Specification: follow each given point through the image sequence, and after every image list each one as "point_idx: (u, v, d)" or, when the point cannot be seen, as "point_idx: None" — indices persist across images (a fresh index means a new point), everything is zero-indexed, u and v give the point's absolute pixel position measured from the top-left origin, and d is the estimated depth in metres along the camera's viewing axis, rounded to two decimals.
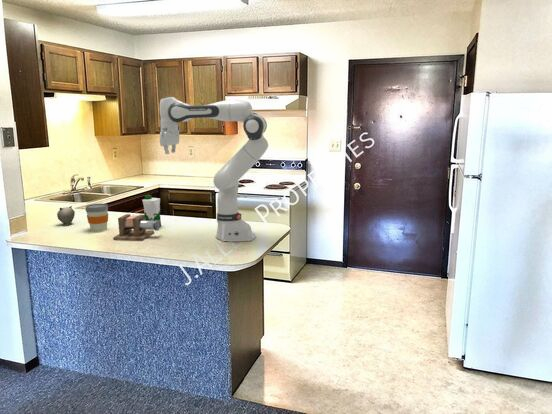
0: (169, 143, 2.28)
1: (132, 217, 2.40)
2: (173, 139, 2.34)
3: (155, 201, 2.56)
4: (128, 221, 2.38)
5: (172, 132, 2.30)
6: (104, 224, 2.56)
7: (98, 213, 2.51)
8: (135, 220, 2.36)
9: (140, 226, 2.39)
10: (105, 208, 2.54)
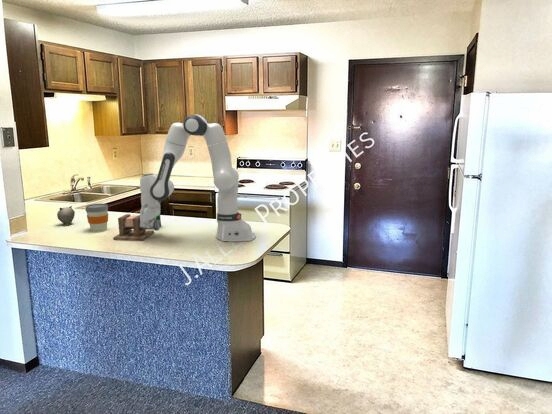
0: (149, 219, 2.35)
1: (132, 217, 2.40)
2: (154, 213, 2.40)
3: None
4: (128, 221, 2.38)
5: (152, 207, 2.37)
6: (104, 224, 2.56)
7: (98, 213, 2.51)
8: (135, 220, 2.36)
9: (140, 226, 2.39)
10: (105, 208, 2.54)
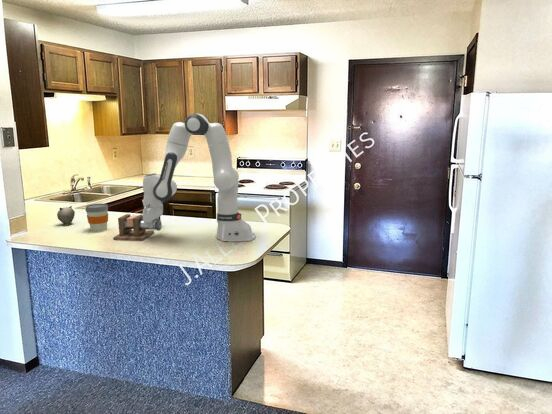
0: (152, 219, 2.34)
1: (133, 217, 2.40)
2: (156, 213, 2.40)
3: None
4: (129, 221, 2.38)
5: (155, 207, 2.36)
6: (104, 224, 2.56)
7: (98, 213, 2.51)
8: (135, 220, 2.36)
9: (142, 226, 2.39)
10: (105, 208, 2.54)
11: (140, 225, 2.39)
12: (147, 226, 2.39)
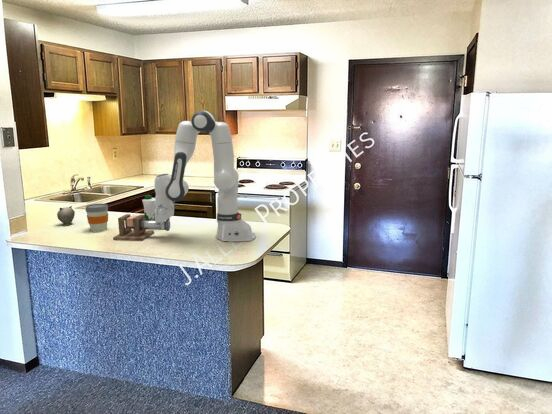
0: (164, 219, 2.34)
1: (133, 217, 2.40)
2: (168, 213, 2.39)
3: (155, 201, 2.56)
4: (129, 221, 2.38)
5: (167, 208, 2.36)
6: (104, 224, 2.56)
7: (98, 213, 2.51)
8: (135, 220, 2.36)
9: (151, 226, 2.39)
10: (105, 208, 2.54)
11: (149, 225, 2.38)
12: (156, 226, 2.38)
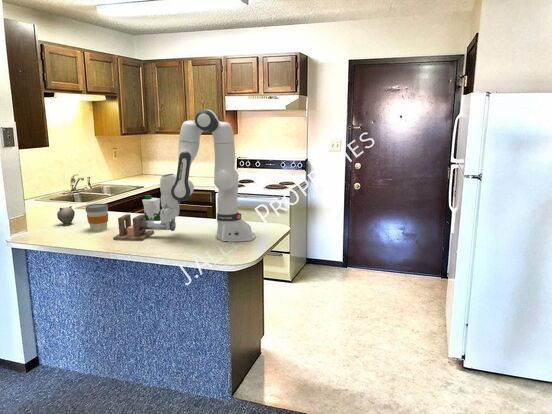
0: (169, 219, 2.33)
1: None
2: (173, 213, 2.39)
3: (155, 201, 2.56)
4: (129, 231, 2.39)
5: (172, 208, 2.35)
6: (104, 224, 2.56)
7: (98, 213, 2.51)
8: (135, 220, 2.36)
9: (156, 226, 2.38)
10: (105, 208, 2.54)
11: (154, 225, 2.38)
12: (161, 226, 2.38)
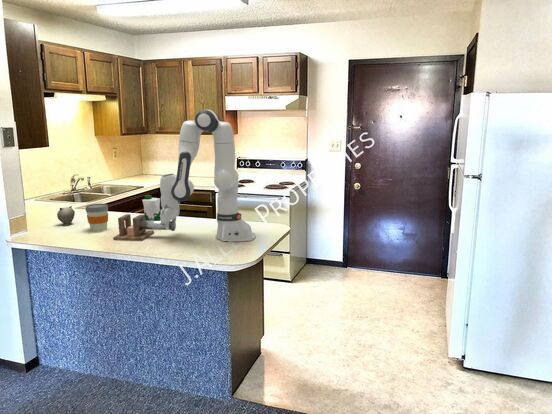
0: (169, 219, 2.33)
1: None
2: (173, 213, 2.39)
3: (155, 201, 2.56)
4: (129, 231, 2.39)
5: (172, 208, 2.35)
6: (104, 224, 2.56)
7: (98, 213, 2.51)
8: (135, 220, 2.36)
9: (156, 226, 2.38)
10: (105, 208, 2.54)
11: (154, 225, 2.38)
12: (161, 226, 2.38)
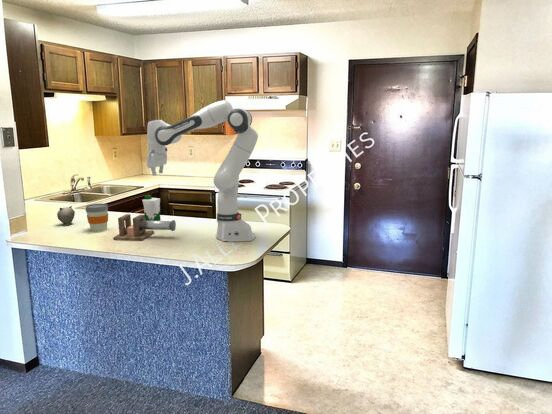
0: (156, 165, 2.32)
1: None
2: (160, 160, 2.38)
3: (155, 201, 2.56)
4: (129, 231, 2.39)
5: (159, 154, 2.34)
6: (104, 224, 2.56)
7: (98, 213, 2.51)
8: (135, 220, 2.36)
9: (156, 226, 2.38)
10: (105, 208, 2.54)
11: (154, 225, 2.38)
12: (161, 226, 2.38)
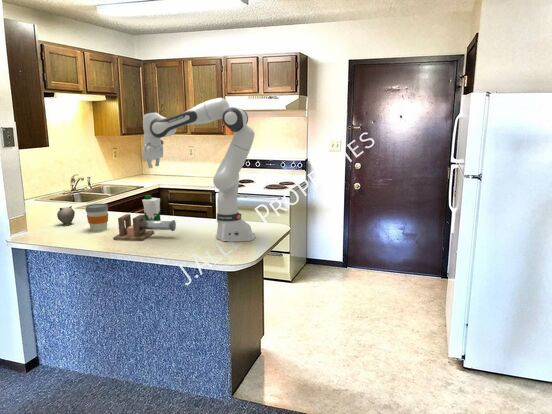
0: (152, 157, 2.33)
1: None
2: (156, 153, 2.39)
3: (155, 201, 2.56)
4: (129, 231, 2.39)
5: (155, 147, 2.35)
6: (104, 224, 2.56)
7: (98, 213, 2.51)
8: (135, 220, 2.36)
9: (156, 226, 2.38)
10: (105, 208, 2.54)
11: (154, 225, 2.38)
12: (161, 226, 2.38)
